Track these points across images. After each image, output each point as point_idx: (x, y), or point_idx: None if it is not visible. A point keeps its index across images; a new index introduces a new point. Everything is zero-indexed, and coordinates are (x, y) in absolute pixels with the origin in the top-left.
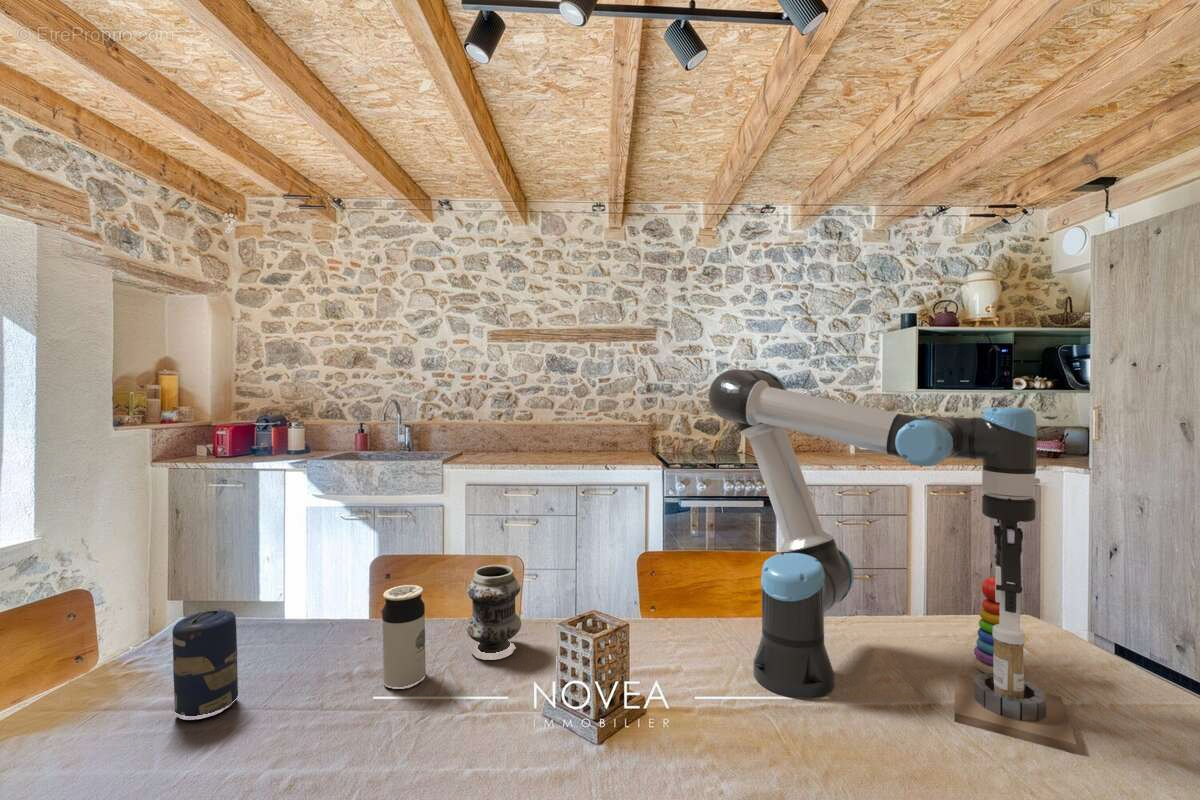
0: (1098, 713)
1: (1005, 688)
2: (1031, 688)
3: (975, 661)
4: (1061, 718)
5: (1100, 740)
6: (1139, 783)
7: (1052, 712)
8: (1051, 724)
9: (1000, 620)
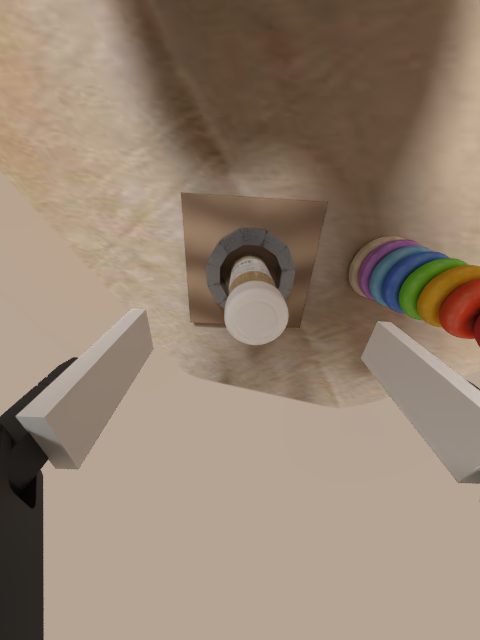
0: (292, 349)
1: (231, 272)
2: None
3: (383, 239)
4: None
5: (234, 340)
6: (173, 350)
7: None
8: (221, 307)
9: (120, 322)
